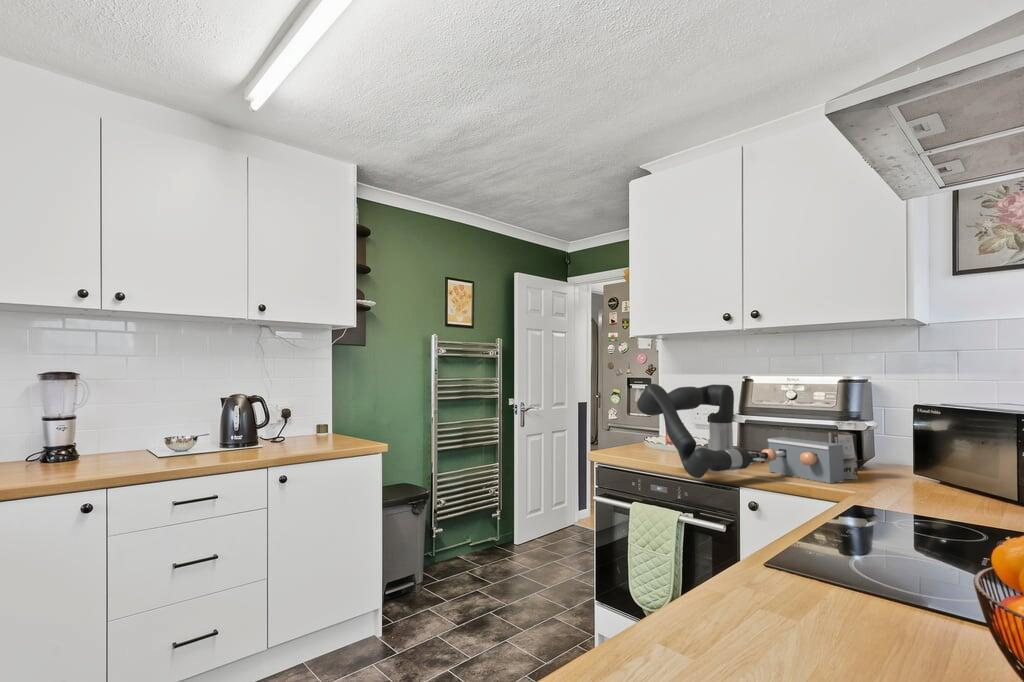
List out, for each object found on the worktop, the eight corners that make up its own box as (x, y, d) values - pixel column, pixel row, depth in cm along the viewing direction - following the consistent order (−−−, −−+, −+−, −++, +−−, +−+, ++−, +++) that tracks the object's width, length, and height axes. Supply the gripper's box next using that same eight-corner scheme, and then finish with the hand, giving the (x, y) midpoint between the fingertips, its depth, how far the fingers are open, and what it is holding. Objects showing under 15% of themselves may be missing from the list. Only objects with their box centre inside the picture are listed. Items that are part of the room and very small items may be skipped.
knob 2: (800, 464, 193) (799, 451, 194) (821, 461, 199) (820, 449, 199) (811, 466, 189) (811, 453, 190) (833, 463, 195) (832, 451, 195)
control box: (768, 472, 209) (767, 438, 209) (783, 470, 212) (782, 437, 213) (829, 483, 187) (828, 446, 188) (844, 481, 191) (842, 444, 192)
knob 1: (761, 460, 202) (760, 448, 202) (782, 457, 207) (782, 446, 207) (771, 462, 198) (771, 450, 198) (792, 459, 203) (792, 447, 203)
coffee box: (858, 479, 194) (857, 434, 195) (839, 479, 195) (837, 434, 196) (848, 474, 203) (846, 431, 204) (829, 474, 204) (828, 431, 205)
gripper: (748, 450, 186) (781, 447, 194) (717, 446, 198) (750, 442, 206) (749, 472, 186) (782, 468, 194) (718, 466, 198) (751, 462, 205)
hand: (765, 455), depth 200 cm, fingers closed
